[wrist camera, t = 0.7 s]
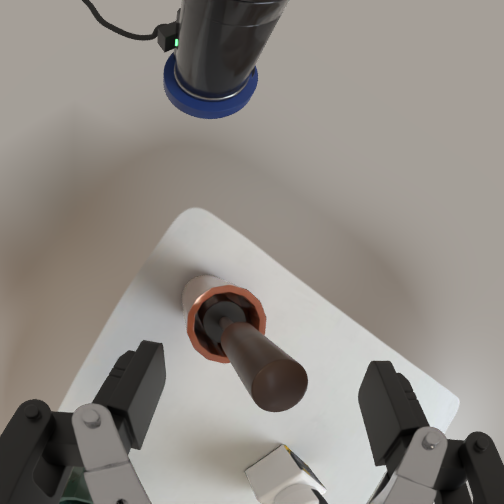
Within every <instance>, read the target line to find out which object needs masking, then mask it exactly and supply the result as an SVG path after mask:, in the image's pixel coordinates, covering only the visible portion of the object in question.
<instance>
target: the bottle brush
mask: <svg viewBox="0 0 504 504" xmlns="http://www.w3.org/2000/svg"><path fill="white" fill-rule="evenodd" d="M198 316H199V319H200V321H201V323H202V326H203V328H204V330H205V332H206V334H207V335H208V337H209V338H211V339H212V340H213V341H215V342H218V343H221V346H222V348H223V350H224V352H225V354H226V355H227V357H228V359H229V361H230V362H231V364H232V366H233V367H234V369H235V371H236V372H237V374H238V376H239V377H240V379H241V381H242V382H243V384H244V386H245V387H246V389H247V391H248V392H249V394H250V395H251V397H252V399H253V400H254V402H255V403H256V404H257V405H258V406H259V407H260V408H261V409H263V410H266V411H269V412H281V411H285V410H288V409H290V408H292V407H293V406H295V405H296V404H297V403H298V402H299V401H300V400H301V399H302V398H303V396H304V394H305V392H306V390H307V385H308V377H307V374H306V371H305V369H304V368H303V367H302V366H301V365H300V364H299V363H298V362H297V361H295V360H294V359H293V358H292V357H290V356H289V355H288V354H286V353H285V352H284V351H283V350H281V349H280V348H279V347H278V346H276V345H275V344H274V343H273V342H272V341H270V340H269V339H268V338H267V337H265V336H264V335H263V334H262V333H260V332H259V331H258V330H257V329H256V328H254V327H253V326H252V325H250V324H249V323H246V316H245V313H244V311H243V310H242V308H241V307H240V306H239V305H237V304H236V303H234V302H233V301H232V300H230V299H229V298H227V297H226V296H224V295H222V294H215V295H213V296H212V297H210V298H209V299H207V300H206V301H205V302H203V303H202V304H201V306H200V308H199V310H198Z"/></svg>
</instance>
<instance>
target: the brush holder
mask: <svg viewBox="0 0 504 504" xmlns="http://www.w3.org/2000/svg"><path fill="white" fill-rule="evenodd" d="M215 294H222V295H224V296H226V297H227V298H229V299H230V300H232V301H233V302H234V303H236V304H237V305H239V306H240V307H241V308H242V310H243V311H244V313H245V316H246V323H249V324H250V325H252V326H253V327H254V328H256V329H257V330H258V331H259V332H260V333H262V334H263V335H265V328H266V315H265V313H264V310H263V307H262V305H261V302H260V301H259V300H258V299H257V298H256V297H255V296H254V295H253V294H252V293H251V292H249V291H248V290H247V289H244V288H242V287H240V286H237V285H235V284H233V283H230V282H227V281H224V280H222V279H220V278H218V277H215V276H212V275H200V276H197V277H195V278H193V279H192V280H190V281H189V282H188V283H187V284H186V286H185V288H184V290H183V293H182V306H183V311H184V320H185V325H186V330H187V334H188V336H189V338H190V341H191V343H192V345H193V347H194V349H195V350H197V351H198V352H199V353H200V354H201V355H203V356H204V357H205V358H206V359H208V360H212V361H216V362H220V363H230V361H229V359H228V357H227V355H226V354H225V352H224V350H223V348H222V346H221V343H218V342H215V341H213V340H212V339H211V338H209V337H208V335H207V334H206V332H205V330H204V328H203V326H202V323H201V321H200V319H199V316H198V310H199V308H200V306H201V304H202V303H203V302H205V301H206V300H207V299H209V298H210V297H212V296H213V295H215Z"/></svg>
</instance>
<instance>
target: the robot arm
mask: <svg viewBox="0 0 504 504" xmlns="http://www.w3.org/2000/svg"><path fill="white" fill-rule="evenodd" d="M82 1H83V2H84V3H85V4H86V5H87V6H88V7H89V9H90V10H91V12H92V14H93V15H94V17H95V18H96V20H97V21H98V22H99V23H101V24H102V25H103V26H105V27H106V28H108V29H110V30H112V31H114V32H116V33H118V34H120V35H122V36H125V37H127V38H131V39H135V40H152V39H154V38H156V37H157V36H158V44H159V45H160V47H161V48H162V49H163V51H164V52H167V51H169V50H172V49H174V56H173V58H174V60H175V65H174V78H175V81H176V83H177V85H178V87H179V88H180V89H181V90H182V91H183V92H184V93H185V94H187V95H188V96H190V97H192V98H194V99H197V100H200V101H204V102H222V101H226V100H229V99H231V98H233V97H235V96H237V95H238V94H239V93H240V92H242V90H243V89H244V88H245V86H246V84H247V82H248V80H249V76H250V74H251V72H252V77H253V76H254V74H255V64H256V62H257V60H258V58H259V56H260V54H261V52H262V50H263V48H264V46H265V45H266V43H267V41H268V38H269V37H270V35H271V33H272V31H273V29H274V27H275V25H276V23H277V22H278V20H279V18H280V16H281V14H282V13H283V11H284V9H285V7H286V5H287V3H288V2H289V0H182V4H181V8H179V10H178V11H177V20H176V21H175V22H173V23H169V24H160V25H158V26H157V27H156V28H155V29H154V31H153V33H152V34H151V35H136V34H132V33H129V32H126V31H124V30H122V29H120V28H118V27H116V26H114V25H112V24H110V23H108V22H106V21H105V20H104V19H103V18H102V17H101V16H100V14H99V13H98V11H97V10H96V8H95V7H94V5H93V4H92V3H91V2H90V1H89V0H82ZM165 380H166V368H165V359H164V350H163V344H162V343H157V342H152V341H146V340H143V341H142V342H141V343H140V345H139V347H138V349H137V350H136V352H135V351H130V350H129V351H127V352H126V353H125V354H123V355H122V356H120V357H119V359H118V360H117V362H116V363H115V365H114V368H112V370H111V372H110V373H109V376H108V377H107V378H106V380H105V382H104V383H103V385H102V387H101V388H100V390H99V392H98V393H97V395H96V397H95V399H94V400H93V402H92V403H91V404H85V405H82V406H80V407H79V408H78V409H76V410H75V412H74V413H67V412H53V411H51V410H50V408H49V406H48V405H47V404H46V403H45V402H43V401H41V400H37V399H33V400H28V401H26V402H24V403H22V404H21V405H20V406H19V408H18V409H17V411H16V412H15V414H14V415H13V417H12V419H11V420H10V422H9V423H8V425H7V426H6V428H5V430H4V431H3V433H2V435H1V436H0V504H59V502H60V499H61V497H62V494H63V491H64V489H65V486H66V483H67V481H68V478H69V476H70V473H71V471H72V468H73V467H85V471H84V478H85V481H86V484H87V487H88V490H89V492H90V495H91V498H92V500H93V503H94V504H152V503H151V501H150V500H149V498H148V496H147V494H146V492H145V490H144V488H143V486H142V484H141V482H140V480H139V478H138V476H137V474H136V472H135V470H134V468H133V466H132V463H131V461H130V459H129V457H128V454H129V451H130V449H131V448H134V449H138V450H140V449H141V447H142V444H143V441H144V439H145V436H146V433H147V430H148V428H149V425H150V422H151V420H152V417H153V415H154V412H155V409H156V407H157V404H158V401H159V399H160V396H161V394H162V391H163V388H164V385H165ZM358 401H359V405H360V409H361V413H362V416H363V420H364V424H365V427H366V431H367V435H368V439H369V442H370V446H371V450H372V454H373V458H374V462H375V466H382V465H386V467H387V471H386V472H385V473H384V475H383V477H382V479H381V480H380V482H379V484H378V486H377V487H376V489H375V491H374V492H373V494H372V496H371V497H370V499H369V500H368V502H367V503H366V504H433V502H435V504H504V465H503V463H502V460H501V458H500V456H499V453H498V451H497V449H496V447H495V444H494V442H493V440H492V439H491V438H490V437H489V436H488V435H487V434H485V433H483V432H473V433H471V434H470V435H469V436H468V437H467V438H466V439H465V441H462V440H450V439H446V437H445V435H444V434H443V433H442V432H441V431H440V430H439V429H437V428H434V427H430V426H429V424H428V421H427V419H426V417H425V415H424V412H423V410H422V408H421V406H420V404H419V401H418V400H417V397H416V395H415V393H414V392H413V389H412V387H411V385H410V382H409V381H408V380H407V379H406V378H405V377H404V376H403V375H402V374H401V373H396V371H395V369H394V367H393V365H392V363H391V362H390V361H371V362H370V364H369V366H368V369H367V371H366V374H365V376H364V379H363V381H362V384H361V386H360V389H359V394H358ZM467 480H468V482H469V485H470V488H471V492H472V495H473V503H472V501H471V498H470V495H469V492H468V488H467V485H466V481H467Z"/></svg>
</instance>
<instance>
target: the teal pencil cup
mask: <svg viewBox="0 0 504 504" xmlns="http://www.w3.org/2000/svg"><path fill="white" fill-rule="evenodd" d="M84 471H85V467H73V468H72V471H71V473H70V476H69V478H68V481H67V483H66V486H65V489H64V491H63V494H62V497H61V499H60V502H59V504H94V503H93V500H92V498H91V495H90V492H89V490H88V487H87V484H86V481H85V478H84Z"/></svg>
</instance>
